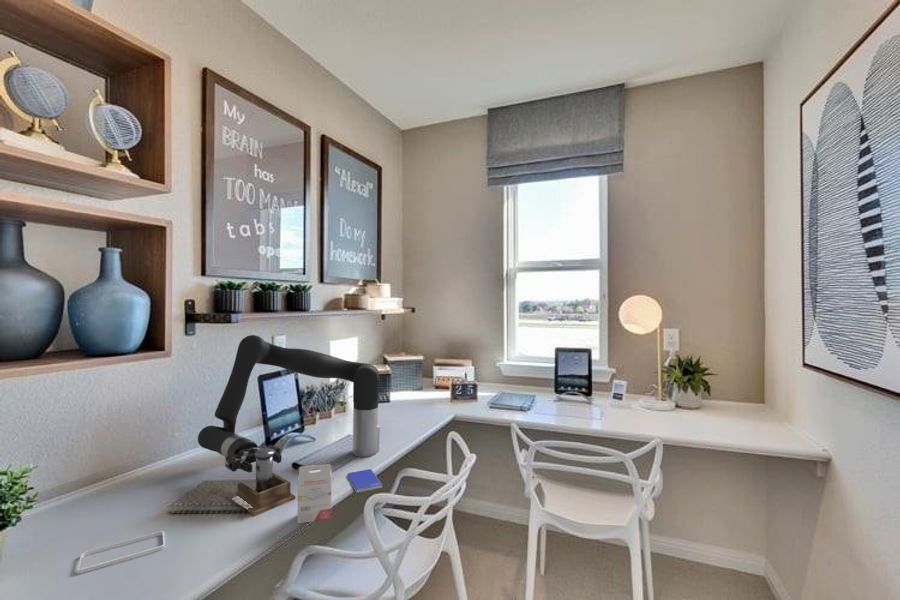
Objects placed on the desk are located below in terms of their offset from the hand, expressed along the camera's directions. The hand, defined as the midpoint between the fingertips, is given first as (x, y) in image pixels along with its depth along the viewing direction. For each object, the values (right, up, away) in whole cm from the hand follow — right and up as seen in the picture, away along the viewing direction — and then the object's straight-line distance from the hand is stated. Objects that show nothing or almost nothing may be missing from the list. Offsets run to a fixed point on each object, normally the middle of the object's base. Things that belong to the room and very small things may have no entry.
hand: (266, 464), depth 115 cm
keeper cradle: (-1, -10, +1) cm, 11 cm away
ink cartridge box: (+17, -11, -8) cm, 21 cm away
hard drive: (+25, -12, +13) cm, 31 cm away
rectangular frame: (-21, -11, -24) cm, 34 cm away
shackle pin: (-1, -10, +1) cm, 10 cm away
